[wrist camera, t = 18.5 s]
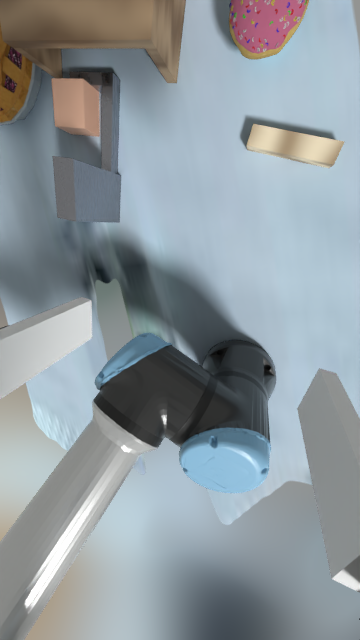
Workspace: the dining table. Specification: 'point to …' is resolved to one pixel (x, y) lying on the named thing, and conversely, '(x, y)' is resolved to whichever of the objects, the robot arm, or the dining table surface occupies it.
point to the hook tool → (89, 181)
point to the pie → (16, 84)
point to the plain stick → (294, 145)
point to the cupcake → (264, 25)
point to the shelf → (94, 29)
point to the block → (76, 106)
